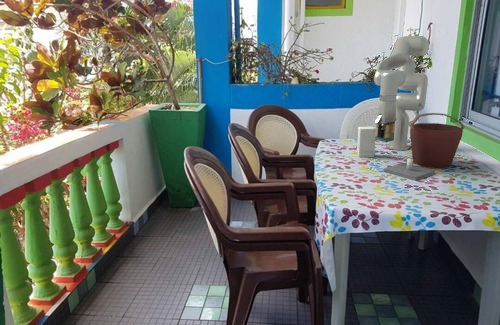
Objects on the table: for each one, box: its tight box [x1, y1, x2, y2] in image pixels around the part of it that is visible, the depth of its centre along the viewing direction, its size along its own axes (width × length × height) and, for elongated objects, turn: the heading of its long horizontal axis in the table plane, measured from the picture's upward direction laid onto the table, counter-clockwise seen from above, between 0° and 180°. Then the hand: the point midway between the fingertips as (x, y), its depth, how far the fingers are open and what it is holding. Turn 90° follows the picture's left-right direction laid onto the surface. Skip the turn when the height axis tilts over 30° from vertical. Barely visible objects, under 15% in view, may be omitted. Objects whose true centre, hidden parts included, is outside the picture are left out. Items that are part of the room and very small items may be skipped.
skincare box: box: [356, 126, 376, 158], centre depth 202 cm, size 8×7×16 cm
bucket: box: [408, 112, 466, 170], centre depth 186 cm, size 24×22×25 cm
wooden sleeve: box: [375, 123, 395, 143], centre depth 183 cm, size 6×6×8 cm
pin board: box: [382, 157, 436, 181], centre depth 174 cm, size 16×16×6 cm
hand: (384, 135), depth 184 cm, fingers closed on wooden sleeve, 6 cm apart
